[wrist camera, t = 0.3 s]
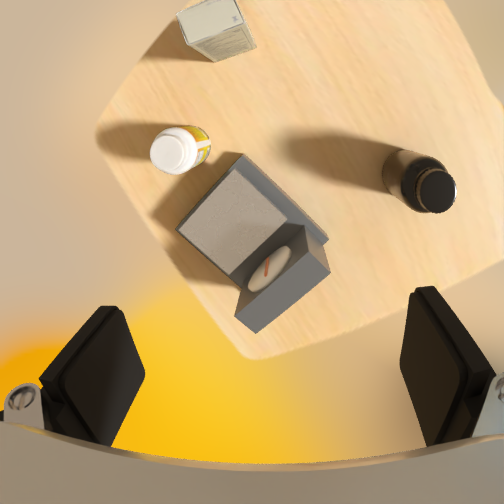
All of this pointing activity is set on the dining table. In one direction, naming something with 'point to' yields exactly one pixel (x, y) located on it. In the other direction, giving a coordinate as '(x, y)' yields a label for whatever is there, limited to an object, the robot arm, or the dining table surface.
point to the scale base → (275, 256)
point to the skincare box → (216, 29)
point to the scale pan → (233, 222)
